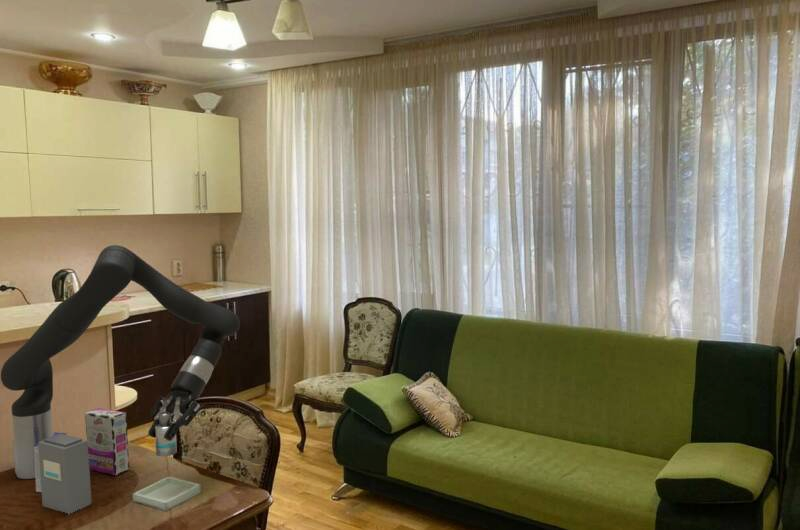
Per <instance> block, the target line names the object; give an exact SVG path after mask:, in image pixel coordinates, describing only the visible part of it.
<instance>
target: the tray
mask: <svg viewBox="0 0 800 530" xmlns="http://www.w3.org/2000/svg"><path fill="white" fill-rule="evenodd" d="M201 493H202V484H200V483H196V482H193V481H189V480H185V479H181V478H177V477H173V476H167V477H165V478H162V479H160V480H159V481H156V482H154V483H152V484H149V485H148V486H146V487H143V488H142V489H139V490H138V491H136V492H134V493H132V502H133V501H135V502H134V503H136V502H139V503H142V504H141V505H143V504H145V505H144V506H146V505H148V507H150V506H151V507H150V508H153V507H154V509H156V510H161V511H165V512H167V511H169V510H171V509H173V508H174V507H177V506H179V505H180V504H182V503H184V502H186V501H187V500H189V499H192V498H193V497H195V496H197V495H199V494H201ZM139 503H138V504H139Z"/></svg>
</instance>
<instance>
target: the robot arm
mask: <svg viewBox="0 0 800 530" xmlns="http://www.w3.org/2000/svg"><path fill="white" fill-rule="evenodd" d="M92 267H93V268H92V269H91V271H90V273H89V275H88V276H87V278H86V280H85V281H84V282H83V284H82V285H81V286H80V288H79V289H78V290H77V291H76V292H75V293H73V294H72V295H70V296H69V297H67V298H65V299H63V301H61V302H60V303H58V305H57V306H56V307H55V308H54V309H53V310H52V312H51V313H50V314H49V315H48V317H46V319H45V320H44V322H42V324H41V325H40V326H39V327H38V328H37V329H36V331H34V333H33V334H32V335H31V336H30V338H29V339H28V340H27V341H26V342H25V343H24V344H23V345H22V346H21V347H19V348H18V349H17V350H16V351H15V352H14V353H13V354H12V355H11V356H10V357H8V359H7V360H5V362H4V363H3V365H2V367H1V370H0V381H1V383H2V385H3V386H4V387H5V388H6V389H8V390H9V391H16V392H17V391H23V392H22V394H21V395H20V396H19V398H17V399H16V400H14V402H13V403H12V405H11V415H12V419H11V420H12V432H13V440H12V449H13V450H12V451H13V459H14V472H15V474H16V477H17V478H18V479H23V480H29V479H36V478H35V457H34V447H35V446H36V445H38V442H41V441H43V439H46V438H49V437H52V436H53V435H54V433H53V420H52V419H53V418H52V407H51V406H52V405H51V403H52V400H53V398H54V397H53V395H54V379H53V378H54V374H53V372H54V371H53V366H52V361H51V358H53V357H54V356H56V355H57V354H60V353H61V352H62V351H65V350H66V349H67V348H68V347H70V346H71V345H73V343H75V342H77V341H78V339H79V338H80V337H81V336H82V335H83V334H84V333H85V332H86V330H87V329H88V328H89V327H90V326H91V325H92V323H93V322H94V321H95V320H96V319H97V317H98V316H99V314H100V312H101V311H102V310H103V309H104V308H105V306H106V305H107V304H109V303H110V302H111V301H112V300H113V299H114V298H115V297H117V296H118V295H119V294H120V293H121V292H122V291H123V290H125V289H126V288H127V287H128V286H129V284H130V282H131V281H132V282H134V283H136V284H138V285H139V286H141V287H143V288H144V289H145V290H146V291H147V292H148V293H149V294H151V296H152V297H153V298H154V299H156V301H157V302H158V303H159V304H160V305H161V306H162V307H163V308H164V309H166V310H167V312H170V314H173V315H175V316H176V317H178V318H180V319H182V320H184V321H186V322H187V323H190V324H193V325H198V324H199V325H203V328H202V330H201V333H200V335H199V338H198V342H197V343H196V345H195V347H194V348H193V350H192V352H191V353H190V354H189V357H188V358H187V359H186V361H185V362H184V363H183V364H182V367H181V368H180V370H179V372H178V373H177V375H176V377H175V379H174V380H173V382H172V384H171V391H170V392H169V393H168V394H167V395H166V396H161V395H158V396H157V397H156V399H155V402H154V405H153V407H152V410H151V412H150V417H151V418H153V419H154V420H153V423H152V424H151V426H150V428H149V430H148V435H149V436H150V437H151V438H154V439H156V436H155V426H156V425H157V424H159V413H162V412H171V417H172V416H173V418H172V420H171V422H173V424H172V423H171V424H170V426H169V428H168V430H167V431H166V433H165V435H164V438H165V439H166V440H168V441H171V440H172V439H173V438H174V436H175V435H176V436H177V432H178V430H179V429H180V428H182V427H183V426H184V427H188V426H189V425H190V424H191V422H192V421H193V420H194V419H195V417H196V416H197V414H198V413H199V412H200V411H201V410H202V405H200V404H199V403H198V402H197V401H196V400H199V398H200V396H201V394H202V393H203V391H204V389H205V387H206V385H207V383H208V382H209V380H210V378H211V376H212V373H213V371H214V369H215V367H216V366H217V364H218V361H219V360H220V359H221V355H222V352H223V350H222V347H223V344H224V343H225V341H226V340H227V338H229V337H230V336H233V335H235V334H236V333H237V332H238V331H239V330H240V327H241V320H240V318H239V316H238V315H237V314H236V313H235V312H234V311H232V310H231V309H230V308H227V307H224V306H222V305H219V304H217V303H213V302H209V301H206V300H204V299H202V298H201V297H199V296H198V295H195V294H194V293H193V292H190V291H189V290H187V289H185V288H183V287H181V286H180V285H178V284H177V283H175V282H174V281H172V280H170V279H169V277H168V278H167V277H166V276H165V275H164V274H162V273H160V271H158V270H156V268H154V267H153V266H152V265H150V264H149V263H147V262H146V261H145V260H143V259H142V258H141V257H140V256H139V255H137V254H136V253H134V252H133V251H131V250H130V249H129V248H127V247H125V246H121V245H117V244H112V245H108V246H106V247H104V248H103V249H102V250H101V251H100V253H99V255H98V257H97V259H96V261H95V262H94V264H93V266H92ZM166 410H167V411H166Z"/></svg>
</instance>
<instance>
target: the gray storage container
mask: <svg viewBox="0 0 800 530" xmlns="http://www.w3.org/2000/svg"><path fill="white" fill-rule="evenodd" d="M38 449H39V462H40V476H41V490H42V492H41V500H42V507H45V508H48V509H51V510H54V511H56V512H60V511H61V512H60V513H63V512H65V513H64V514H66V513H68V514H67V515H71V514H74V513H75V511H76V512H78V511H80V510H82V509H84V508H86V507H88V506H91V505H92V491H91V490H92V489H91V476H90V475H91V473H90V471H91V470H89V456H88V441H87V439H82V438H80V437H77V436H76V437H75V436H73V435H72V436H71V435H68V434H66V435H64V434H58V435H55V436H52V437H49V438H46V439H43V441H41V442H38ZM79 509H80V510H79ZM77 510H78V511H77ZM73 512H74V513H73ZM70 513H71V514H70Z"/></svg>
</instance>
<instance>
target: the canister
mask: <svg viewBox="0 0 800 530" xmlns="http://www.w3.org/2000/svg"><path fill="white" fill-rule="evenodd" d="M171 423H172V424H173V422H172V416H171V412H169V411H166V412H162V413H159V424H157V425H156V426H155V436H156V437H155V452H156V453H155V455H156V456H157V457H170V456H173V455H176V454H177V452H178V451H177V447H178V446H177V444H178V443H177V442H178V441H177V434H176V435H175V436H174V438H173V439H172V440H171V441H168V440H166V439H165V438H164V435H165V433H166V431H167V430H168V428H169V426H170V424H171Z"/></svg>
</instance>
